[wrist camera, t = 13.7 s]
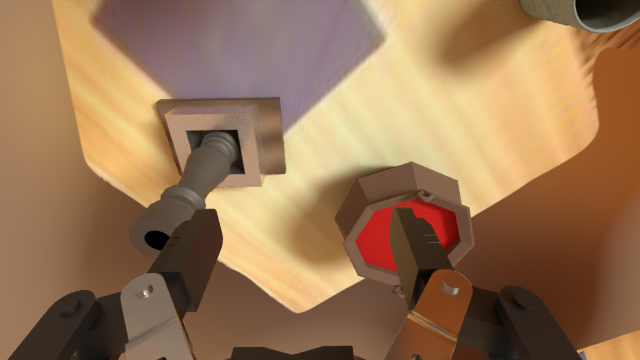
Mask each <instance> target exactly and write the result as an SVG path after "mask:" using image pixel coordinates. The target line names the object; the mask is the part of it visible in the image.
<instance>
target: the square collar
mask: <svg viewBox="0 0 640 360" xmlns="http://www.w3.org/2000/svg"><path fill="white" fill-rule="evenodd" d="M165 118H166V122H167V125H168V128H169V131H170V134H171V138H172V141H173V144H174V147H175V150H176V154H177V157H178V160H179V163H180V167H181V170H182V173H183V171H184V168H185V164H186V161H187V157H188V156H189V155H190V154H191V152H192V151H193V150H195V149H197V148H199V147H200V145H201V143H202V136H201V132H200V130H238V135H239V141H240V147H241V152H242V158H243V160H242V161H234V162H232V164H231V165H230V170H229V174H228V176H227V177H226V179H225V180H224V181H223V182H222V183H221V184H219V185H218V186H217V187H261V186H262V185H263V182H264V178H265V175H266V164H265V157H264V149H263V142H262V134H261V127H260V119H259V112H258V104H257V103H252V104H195V105H177V106H176V107H175V108H173V109H172V110H171V111H169V112H168V113H167V114H165Z"/></svg>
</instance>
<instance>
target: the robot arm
mask: <svg viewBox="0 0 640 360" xmlns="http://www.w3.org/2000/svg"><path fill="white" fill-rule="evenodd" d="M222 244H223V235H222V230H221V227H220V223H219V219H218V215H217V212H216V210H215V209H197V210H196V211H195V213H194V214H193V216H192V218H191V219H190V220H185V221H184V222H182V223H181V224H180V225H179V226H178V227H176V228H175V230H174V231H173V233H172V235H171V236H170V239H168V241H167V242H166V244H165V247H163V249H162V250H161V252H160V254H159V255H158V257H157V258H156V260H155V262H154V263H153V265H152V267H151V268H150V270H149V271H148V273H147V274H144V275H142V276H139V277H137V278H135V279H134V280H132V281H131V282H129V283H128V284H127V286H125V288H124V289H123V291H122V292H118V293H115V294H111V295H107V296H104V297H100V298H96V296H95V295H94V294H93V292H91V291H89V290H80V291H76V292H73V293H70V294H68V295H66V296H64V297H62V298H61V299H59V300H58V301H57V302H55V303H54V304H53V305H52V306H51V307H50V308H49V309H48V310H47V312H46V313H45V314H44V315H43V317H42V318H41V319H40V320H39V322H38V323H37V324H36V325H35V327H34V328H33V329H32V330H31V331H30V333H29V334H28V335H27V336H26V338H25V339H24V340H23V341H22V343H21V344H20V345H19V346H18V348H17V349H16V350H15V351H14V352H13V354H12V355H11V356H10V357H9V359H8V360H70V359H71V360H118V359H119V357H120V355H121V353H124V352H126V357H127V360H198V358H197V356H196V353H195V351H194V348H193V345H192V343H191V340H190V338H189V335H188V332H187V330H186V327H185V325H184V322H183V318H184V315H185V313H186V312H196V311H197V309H198V307H199V304H200V302H201V299H202V297H203V294H204V291H205V289H206V286H207V284H208V281H209V279H210V276H211V274H212V271H213V268H214V265H215V263H216V261H217V258H218V256H219V253H220V251H221V248H222ZM389 244H390V248H391V251H392V255H393V258H394V262H395V265H396V268H397V272H398V275H399V279H400V282H401V286H402V289H403V293H404V296H405V299H406V303H407V306H408V309H409V310H413V312H412V313H409V314H408V316H407V318H406V319H405V321H404V323H403V325H402V327H401V329H400V331H399V333H398V334H397V336H396V338H395V340H394V342H393V344H392V346H391V348H390V350H389V352H388V353H387V355H386V357H385V359H384V360H450V359H451V356H452V354H453V351H454V348H455V345H456V343H457V344H461V345H464V346H467V347H470V348H474V349H477V350H479V351H480V353H481V356H482V358H483V360H582V358H581V357H580V355H579V354H578V352H577V351H576V349H575V348H574V347H573V345H572V344H571V342H570V341H569V339H568V338H567V336H566V335H565V333H564V332H563V330H562V329H561V327H560V326H559V324H558V323H557V322H556V320H555V318H554V317H553V315H552V314H551V313H550V311H549V310H548V308H547V307H546V305H545V304H544V303H543V301H542V300H541V299H540V298H539V297H538V296H537V295H536V294H534V293H533V292H531V291H529V290H527V289H525V288H523V287H520V286H514V285H508V286H505V287H503V288H502V289H501V290H500V291H499V293H496V292H492V291H488V290H484V289H480V288H477V287H474V286H472V285H471V284H470V282H469V281H468V280H467V279H466V278H465V277H464V276H463V275H461V274H460V273H458V272H455V270H454V268H453V266H452V264H451V262H450V260H449V259H448V257H447V255H446V253H445V251H444V249H443V247H442V245H441V243H440V241H439V239H438V237H437V236H436V233H435V231H434V229H433V227H432V225H431V224H430V223H429V222H428V221H426V220H425V219H424V218H416V216H415V214H414V212H413V209H412V208H411V207H410V206H406V207H393V210H392V216H391V222H390V229H389ZM72 356H73V357H72ZM71 357H72V358H71ZM225 360H365V359H363V358H361V357H358V356H354V355H353V347H352V346H322V347H319V348H316V349H312V350H308V351H305V352H301V353H298V354H294V355H291V354H287V353H283V352H279V351H276V350H272V349H268V348H265V347H234V348H233V352H232V356H231V358H228V359H225Z"/></svg>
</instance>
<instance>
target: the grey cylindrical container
mask: <svg viewBox="0 0 640 360" xmlns="http://www.w3.org/2000/svg"><path fill="white" fill-rule="evenodd" d="M519 1H520V4H521V7H522V9H523V10H524V11H525V12H526V13H527V14H528V15H530V16H532V17H535V18H539V19H544V20H547V21H552V22H554V23H559V24H563V25H570V26H572V27H575V28H578V29H581V30H585V31H589V32H592V33H607V32H612V31H615V30H618V29H621V28H623V27H625V26H627V25H630V24H631V23H633V22H634V21H636V20H637V19H639V18H640V0H519Z"/></svg>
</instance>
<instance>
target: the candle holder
mask: <svg viewBox="0 0 640 360" xmlns="http://www.w3.org/2000/svg"><path fill="white" fill-rule="evenodd" d="M240 152H241V147H240V141H239V135H238V130H209V132H208V133H207V134H206V135H205V137H204V138H203V139H202V143H201V145H200V147H199V148H197V149H195V150H193V151H192V152H191V154H190V155H189V156H188V157H187V161H186V164H185V168H184V171H183V175H182V178H181V180H180V181H179V183H178V184H177V185H173V186H171V187H169V188H167V189H166V190H165V191H164V192H163V193H162V195H161V199H160V200H159V201H157V202H155V203H152V204H150V206H149V207H148V208H147V209H146V211H145V212H144V213H143V214H142V215H141V217H140V218H139V219H138V220H137V222H136V223H135V224H134V225H133V227H132V228H131V229H130V239H131V241H132V243H133V245H134V246H135V247H136V248H137V249H138V250H139V251H141V253H143V254H146V255H147V256H149V257H151V258H155V259H156V258H157V257H158V255H159V254H160V252H161V250H162V249H163V247H165V244H166V242H167V241H168V239H170V236H171V235H172V233H173V231H174V230H175V228H176V227H178V226H179V225H180V224H181V223H182V222H184V221H185V220H190V219H191V218H192V216H193V214H194V213H195V211H196V210H197V209H205V207H206V204H205V199H206V197H207V195H208V194H209V193H210V192H211V191H212V190H213V189H214V188H216V187H217V186H218V185H219V184H221V183H222V182H223V181H224V180H225V179H226V177H227V176H228V174H229V170H230V165H231V164H232V162H234V161H235V160H236V158H237V157H238V156H239V154H240Z"/></svg>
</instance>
